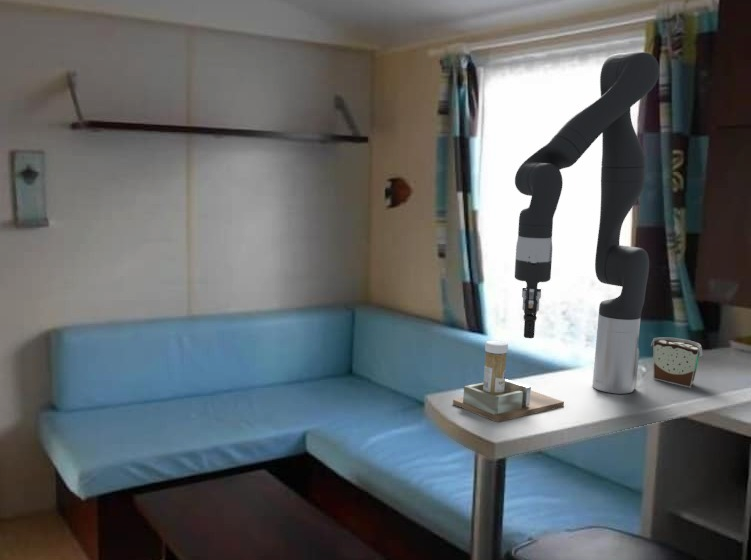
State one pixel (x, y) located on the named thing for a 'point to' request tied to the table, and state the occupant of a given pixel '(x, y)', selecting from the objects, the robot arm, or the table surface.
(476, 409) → the cradle board
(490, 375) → the tan spice jar
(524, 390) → the bar
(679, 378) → the food container
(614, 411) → the table surface
